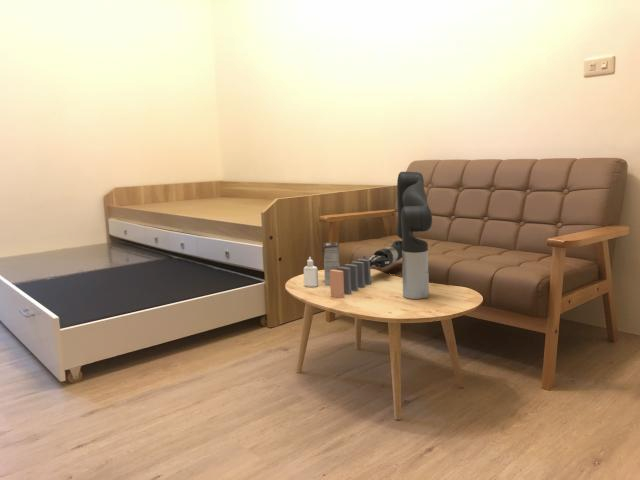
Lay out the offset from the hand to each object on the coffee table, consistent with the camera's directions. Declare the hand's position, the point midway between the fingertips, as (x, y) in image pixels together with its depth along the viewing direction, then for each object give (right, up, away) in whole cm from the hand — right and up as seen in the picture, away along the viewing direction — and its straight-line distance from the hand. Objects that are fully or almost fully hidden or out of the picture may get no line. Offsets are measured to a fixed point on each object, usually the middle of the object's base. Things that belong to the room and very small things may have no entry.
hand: (364, 265), depth 214 cm
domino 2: (-9, -10, -11) cm, 17 cm away
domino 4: (-3, -8, -3) cm, 9 cm away
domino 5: (0, -7, +1) cm, 8 cm away
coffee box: (-13, -7, +6) cm, 16 cm away
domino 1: (-12, -11, -15) cm, 22 cm away
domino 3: (-6, -9, -7) cm, 13 cm away
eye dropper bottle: (-22, -9, +1) cm, 23 cm away
